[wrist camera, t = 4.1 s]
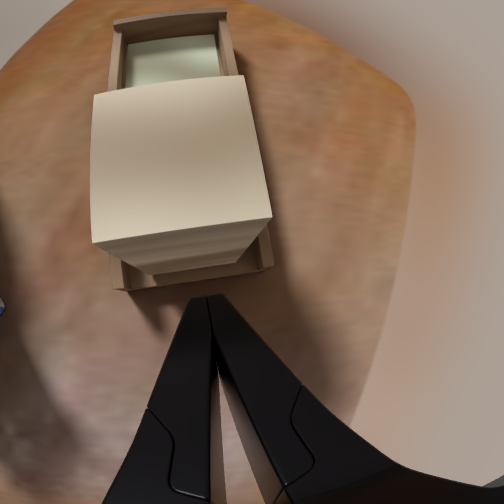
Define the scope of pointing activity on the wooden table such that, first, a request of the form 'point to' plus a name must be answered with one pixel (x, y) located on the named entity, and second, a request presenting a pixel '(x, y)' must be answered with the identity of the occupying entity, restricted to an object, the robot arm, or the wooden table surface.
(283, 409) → the robot arm
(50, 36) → the wooden table surface
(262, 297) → the wooden table surface
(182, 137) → the cream block
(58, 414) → the wooden table surface
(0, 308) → the medicine box
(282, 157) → the wooden table surface
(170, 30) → the box
